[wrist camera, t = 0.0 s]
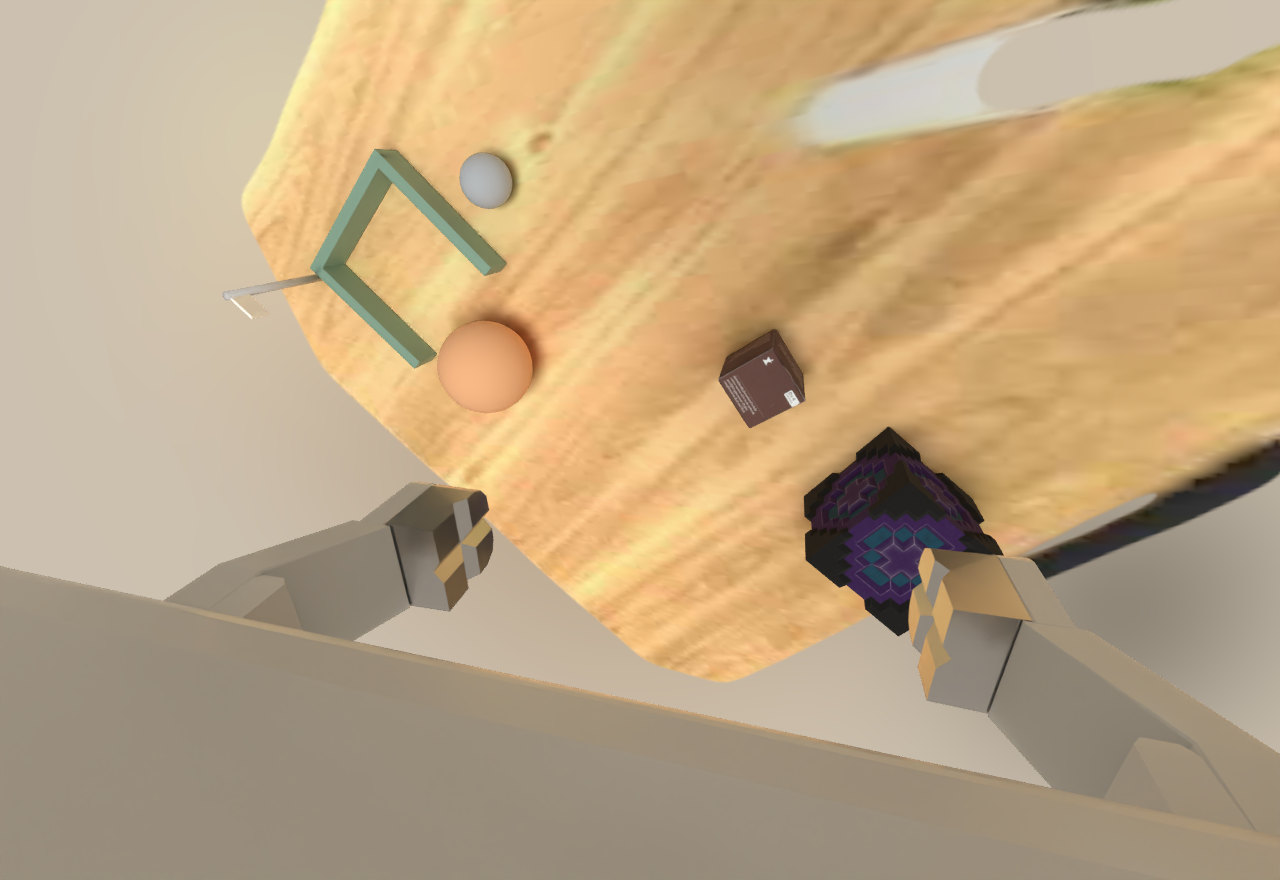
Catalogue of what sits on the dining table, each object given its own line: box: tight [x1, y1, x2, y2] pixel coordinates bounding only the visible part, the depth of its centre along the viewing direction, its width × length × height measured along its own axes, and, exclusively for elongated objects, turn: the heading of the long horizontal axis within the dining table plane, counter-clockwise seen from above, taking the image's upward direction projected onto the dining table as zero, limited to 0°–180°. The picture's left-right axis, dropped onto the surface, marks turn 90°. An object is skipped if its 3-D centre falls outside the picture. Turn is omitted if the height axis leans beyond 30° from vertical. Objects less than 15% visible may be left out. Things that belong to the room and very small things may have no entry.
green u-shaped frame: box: [223, 149, 506, 369], centre depth 56 cm, size 16×18×14 cm
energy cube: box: [804, 427, 1004, 636], centre depth 55 cm, size 12×12×12 cm
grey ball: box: [460, 153, 512, 209], centre depth 54 cm, size 5×5×5 cm
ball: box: [438, 321, 533, 413], centre depth 60 cm, size 10×10×10 cm
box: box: [718, 330, 805, 428], centre depth 54 cm, size 6×6×7 cm
